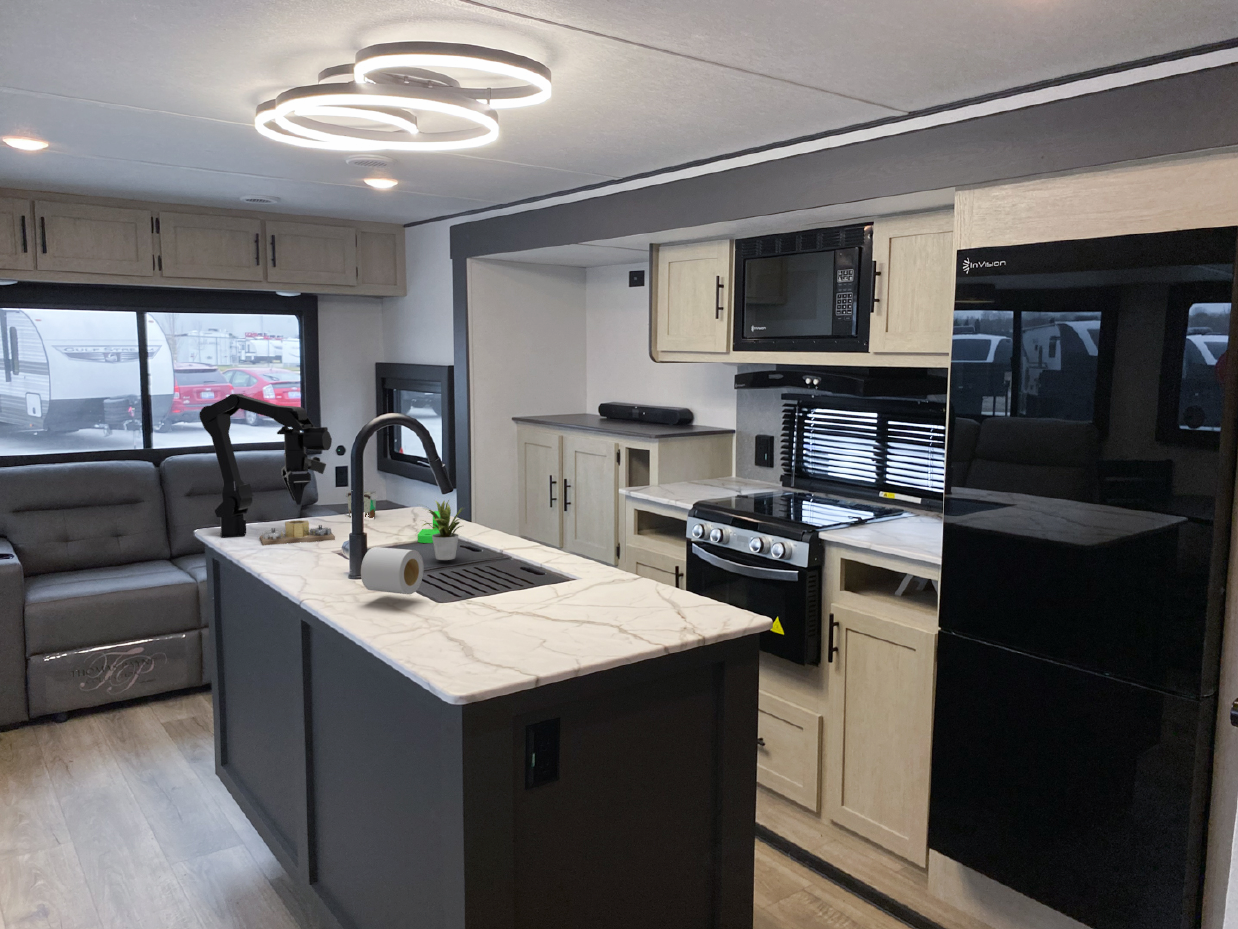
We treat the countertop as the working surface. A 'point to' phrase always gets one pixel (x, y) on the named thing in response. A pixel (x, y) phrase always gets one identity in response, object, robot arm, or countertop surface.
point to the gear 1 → (273, 534)
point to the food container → (365, 502)
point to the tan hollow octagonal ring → (297, 528)
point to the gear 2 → (320, 531)
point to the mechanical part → (428, 532)
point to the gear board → (296, 539)
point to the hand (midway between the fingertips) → (296, 502)
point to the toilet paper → (392, 570)
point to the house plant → (444, 533)
